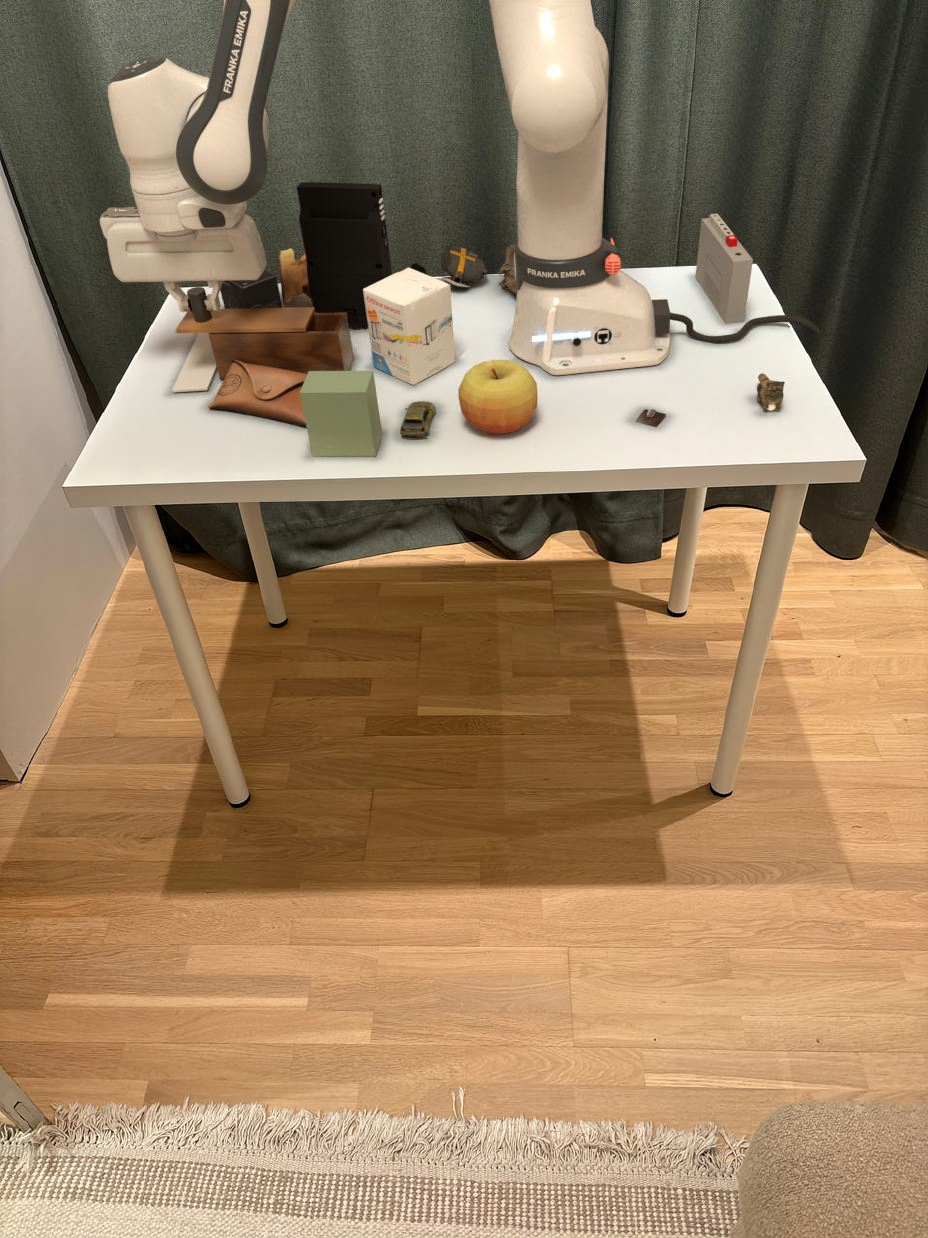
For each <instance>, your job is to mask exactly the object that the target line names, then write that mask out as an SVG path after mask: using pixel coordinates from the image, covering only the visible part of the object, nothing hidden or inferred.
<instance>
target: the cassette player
mask: <svg viewBox="0 0 928 1238" xmlns="http://www.w3.org/2000/svg"><path fill="white" fill-rule="evenodd" d="M697 248H698V249H697V258H696V268H695V277H694V278H695V279H696V281H697V283H698V284H699V286H700V287H701V289H702V290H703V292H704V293H705V296H707V298H708V299H709V301H710V302H711V304H712V305H713V307H714V308H715V311H716V312H717V313H718V315H719V317H721V319H722V321H723V322H724V323H725V324H734V323H742V322H745V318H746V310H747V304H748V296H749V291H750V290H749V289H750V282H751V277H752V276H751V275H752V270H753V263H754V259H753V257H752V256H751V255H750V254H749V253H748V251H747V250H746V248H744V246H743V245H742V243H741V242H740V241H739V239H738V238H737V237H736V235H735V234H734V232H733V231H732V230H731V229H730V228H729V226H728V225H727V224H726V223H725V221H724V220H723V219H722V217H721V216H720V215H719V213H709V217H705V218H701V221H700V230H699V240H698V247H697Z"/></svg>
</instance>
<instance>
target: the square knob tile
mask: <svg viewBox="0 0 928 1238" xmlns="http://www.w3.org/2000/svg"><path fill="white" fill-rule="evenodd" d="M666 416H667V413H664V412H660V411H657V410H656V409H655V408H651V409H648V408H647V409H643V411H642V412H640V414H639V416H638V417H637V418H636V419H635V421H634V422H636V423H640V424H644V425H647V426H650V427H651V426H652V427H654V428H655V427H656V428H657V427H658V425H660V423H661V422H662V420H663V419H664V418H665V417H666Z"/></svg>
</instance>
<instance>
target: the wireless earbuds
mask: <svg viewBox="0 0 928 1238" xmlns="http://www.w3.org/2000/svg"><path fill="white" fill-rule="evenodd" d="M410 268H411V269H414V270H416V271H418V272H421V273H423V274H426V275H428V276H430V275H429V274H428V273H427V272H426V271H427V270H426V268H425V267H423V266H422V265H420V264H419V263H417V262H414V263H412V264H411V266H410ZM405 269H406V268H403V269H402V270H399V271H398V272H401V271H403V270H405Z"/></svg>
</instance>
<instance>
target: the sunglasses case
mask: <svg viewBox="0 0 928 1238" xmlns="http://www.w3.org/2000/svg"><path fill="white" fill-rule="evenodd" d="M306 377H307V374H305V373H300V372H295V371H290V370H284V369H279V368H272V367H267V366H260V365H254V364H248V363H243V362H240V361H238V360H232V365H231V366H230V368H229V370H228V372H227V374H226V376H225V379H224V380H223V381H221V382H222V383H221V384H220V386H219V389H218V390H217V392H216V395H215V398H214V399H213V401H212V402H211V403H210V404H208V405H207V408H209V409H217V410H224V411H225V410H226V411H231V412H235V413H241V414H245V415H251V416H255V417H259V418H264V419H269V420H273V421H276V422H282V423H286V424H290V425H294V426H295V425H296V426H300V427H306V428H307V426H306V421H305V416H304V411H303V406H302V401H301V397H300V390H301V388H302V386H303V383H304V381H305V379H306Z"/></svg>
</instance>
